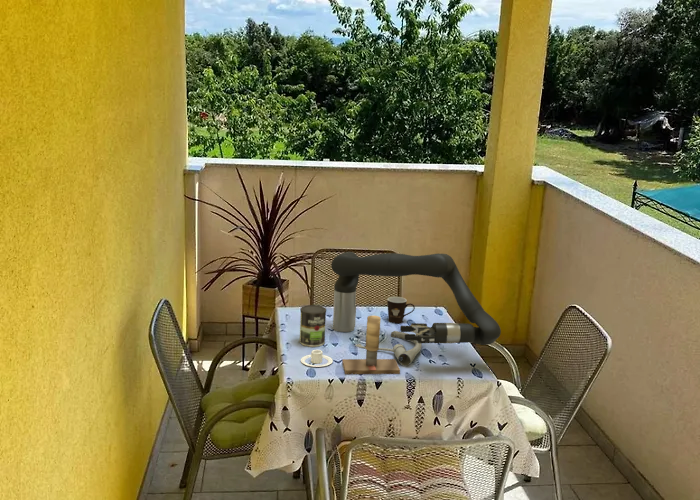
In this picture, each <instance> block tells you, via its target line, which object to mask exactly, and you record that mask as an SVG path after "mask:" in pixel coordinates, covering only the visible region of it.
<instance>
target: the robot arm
mask: <svg viewBox="0 0 700 500" xmlns="http://www.w3.org/2000/svg"><path fill="white" fill-rule="evenodd" d="M454 260H455V259H454V258H453V257H452V256H451V255H449V254H447V253H440V252H439V253H432V254H425V255H424V254H422V255H411V254H405V253H397V252H396V253H395V252H394V253H393V252H390V253H389V252H385V253H377V254H371V255H367V256H358V254H357V253H355V252H353V251H346V252H343V253H340V254H338V255H336V256H335V257H334V258H333V259H332V261H331V263H330V265H331V266H330V267H331V270H332V271H333V273H334V274H336V275H337V276H338V278H337V279H336V281H335V282H334V286H333V287H334V290H333V310H332V311H333V312H332V313H333V314H332V315H333V317H332V329H333V330H334V331H337V332H339V333H348V332H352V331H354V330H355V328H356V320H357V319H356V317H357V306H356V304H357V303H356V302H357V299H356V298H357V297H356V296H357V286H358V284H359V280H360V276H361V275H364V276H373V277H377V276H378V277H379V276H380V277H404V276H405V277H406V276H411V275H412V276H413V275H417V276H418V275H419V276H427V277H432V278H433V277H434V278H437V279H439V278H441V279H442V280H443V281H444V282H445V283H446V284H447V285H448V286H449V289H450V290H451V291H452V293H453V296H454V299H455V301H456V303H457V305H458V307H459V309H460V310H461V312H462V313H463V315H464V316H465V317H466V320H468V321H469V323H456V322H433V324H432V325H431V326H428V324H427V323H422V322H420V323H419V322H417V323H416V322H411V324H410V325H401V326H400V327H399V328H400V329H399V330H400V331H399V332H404V333H408V334H405V338H404V339H403V340H405V341H409V340H415V341H417V342H418V343H422V344H456V343H457V344H458V343H464V344H466V343H471V344H475V345H480V346H487V345H488V346H489V345H492V344H494V342H496V341H497V339H499V337H500V336H501V334H502V329H501V326H500V325H499V323H498V321H497V320H495V318H493V317H492V315H490V314H489V313H488V312H487V311H486V310H485V309H484V307H482V305H481V303H480V302H479V301H478V299H477V298H476V297H475V295H474V294H473V292H472V291H471V289H470V288H469V286H468V285H467V283H466V282H465V280H464V278H463V277H462V274H461V272H460V271H459V269H458V266H457V264H456V263H455V261H454ZM473 324H475V325H476V326H474V325H473Z"/></svg>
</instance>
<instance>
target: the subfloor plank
mask: <svg viewBox="0 0 700 500" xmlns="http://www.w3.org/2000/svg"><path fill="white" fill-rule="evenodd" d="M342 367H343V371H344V375H401V369H400V367H399V364H398V362H397V360H396V358H382V359H381V358H377V365H376V366H368V365H366V358H363V359H362V358H360V359H359V358H355V359H354V358H351V359H350V358H349V359H348V358H347V359H345V358H343V359H342Z"/></svg>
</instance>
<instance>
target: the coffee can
mask: <svg viewBox="0 0 700 500" xmlns="http://www.w3.org/2000/svg"><path fill="white" fill-rule="evenodd" d="M299 309H300V321H299V323H300V324H299V325H300V326H299V329H300V330H299V344H301V346H305V347H310V348H315V347H322V346H323V345H324V344H325V343H326V342H325V341H326V339H325V338H326V321H327V320H326V319H327V318H326V317H327V308H326V307H324V306H322V305H315V304H310V305H309V304H308V305H303V306H301V307H300V308H299Z"/></svg>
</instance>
